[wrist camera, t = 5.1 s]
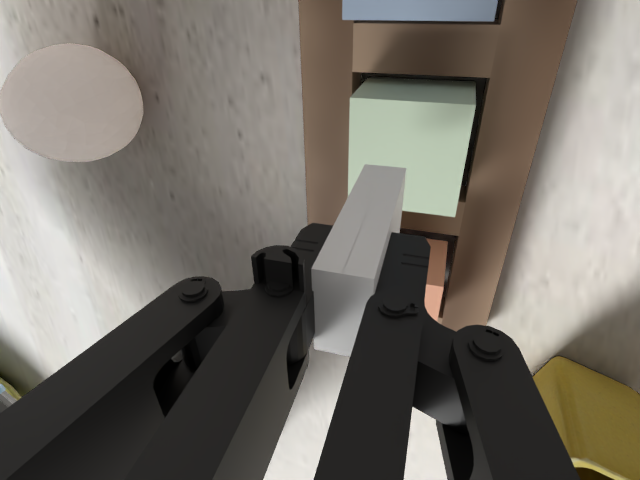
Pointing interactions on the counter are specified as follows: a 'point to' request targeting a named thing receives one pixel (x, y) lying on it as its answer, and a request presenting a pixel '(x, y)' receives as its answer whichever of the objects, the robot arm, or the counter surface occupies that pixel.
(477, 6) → the key slate
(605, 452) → the flower pot
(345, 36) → the board
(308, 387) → the counter surface
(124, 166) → the counter surface
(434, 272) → the key rust
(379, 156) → the key sage
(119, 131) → the egg
